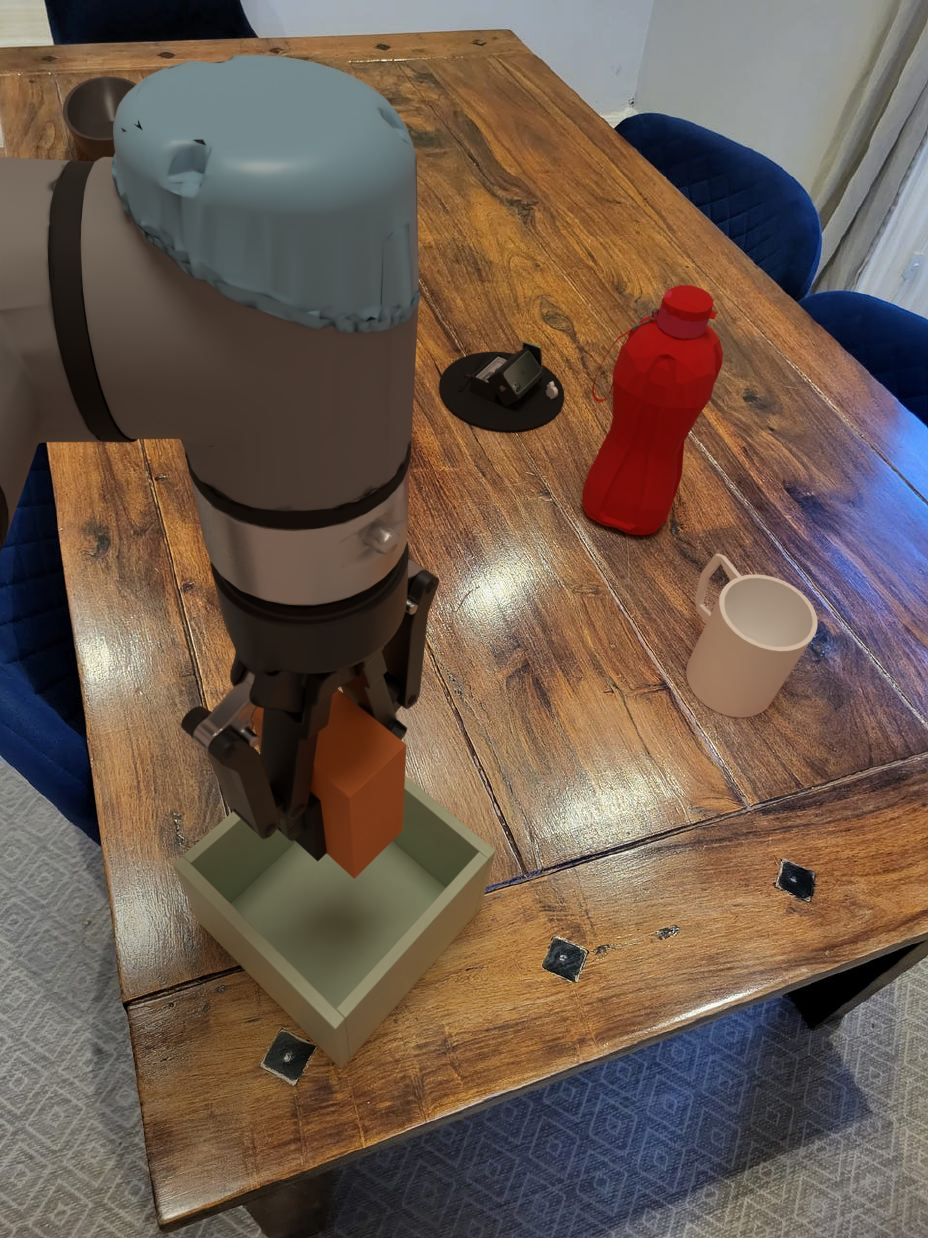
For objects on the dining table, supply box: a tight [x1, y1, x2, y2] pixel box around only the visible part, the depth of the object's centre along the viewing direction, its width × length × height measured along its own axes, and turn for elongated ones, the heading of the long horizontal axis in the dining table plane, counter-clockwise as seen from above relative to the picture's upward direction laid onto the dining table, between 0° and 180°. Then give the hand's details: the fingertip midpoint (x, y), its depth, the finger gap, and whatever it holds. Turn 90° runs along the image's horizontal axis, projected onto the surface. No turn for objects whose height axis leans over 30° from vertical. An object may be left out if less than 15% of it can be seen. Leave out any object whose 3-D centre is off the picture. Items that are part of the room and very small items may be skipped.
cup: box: [685, 552, 818, 719], centre depth 78 cm, size 8×12×10 cm
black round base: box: [438, 341, 565, 433], centre depth 103 cm, size 15×15×6 cm
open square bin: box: [172, 774, 497, 1070], centre depth 60 cm, size 15×15×11 cm
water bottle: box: [581, 284, 724, 536], centre depth 84 cm, size 9×11×25 cm
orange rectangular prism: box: [252, 688, 407, 879], centre depth 48 cm, size 4×7×10 cm, turn 49°
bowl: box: [62, 76, 138, 162], centre depth 132 cm, size 12×22×6 cm, turn 12°
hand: (335, 814), depth 51 cm, fingers closed on orange rectangular prism, 4 cm apart
